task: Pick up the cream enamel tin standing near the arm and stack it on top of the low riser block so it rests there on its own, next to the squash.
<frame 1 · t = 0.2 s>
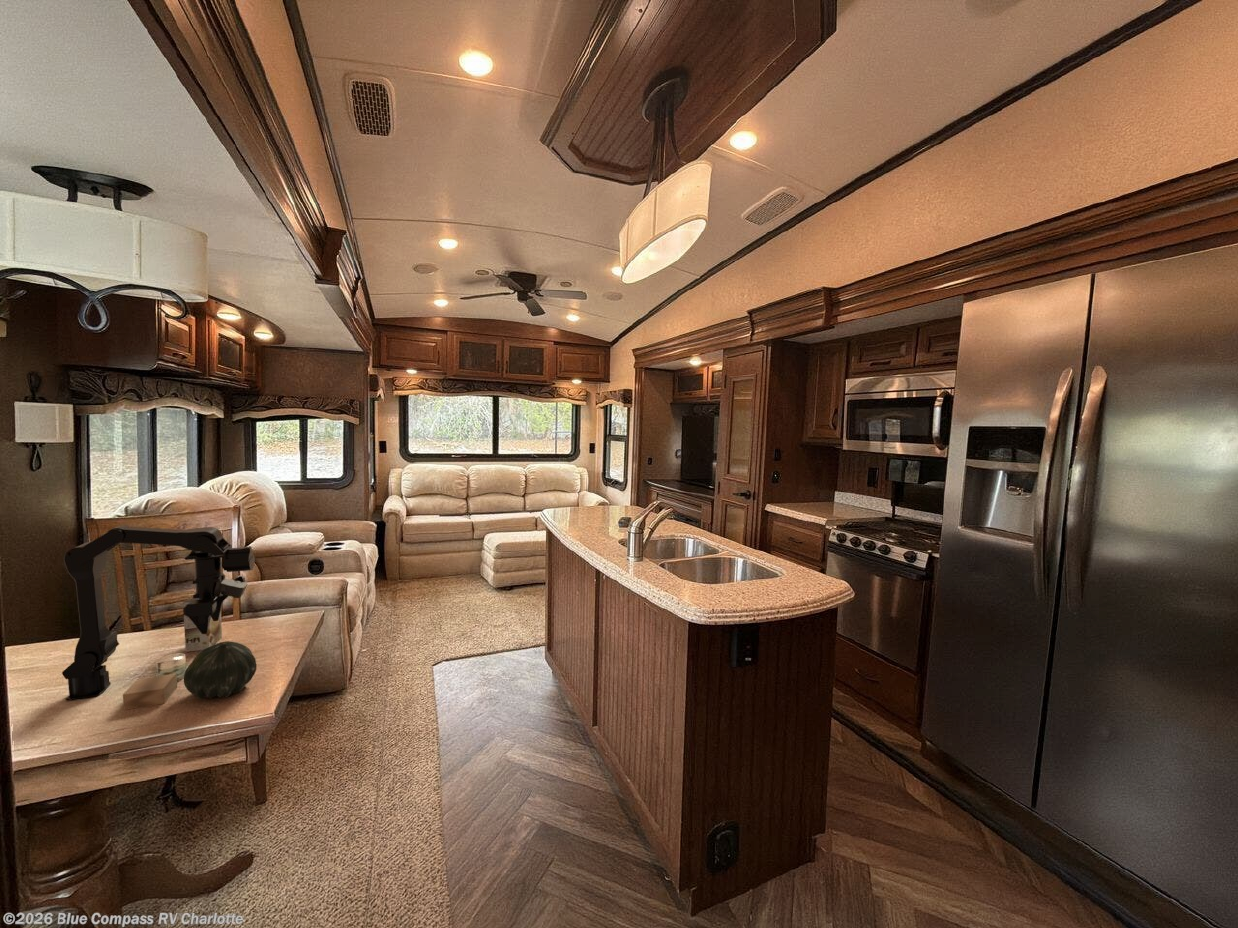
hand: (210, 627, 142), 14 cm above the table, fingers open, 9 cm apart
riser: (151, 698, 131), on the table
squash: (223, 691, 135), on the table
coffee box: (204, 645, 161), on the table
tin: (172, 678, 140), on the table
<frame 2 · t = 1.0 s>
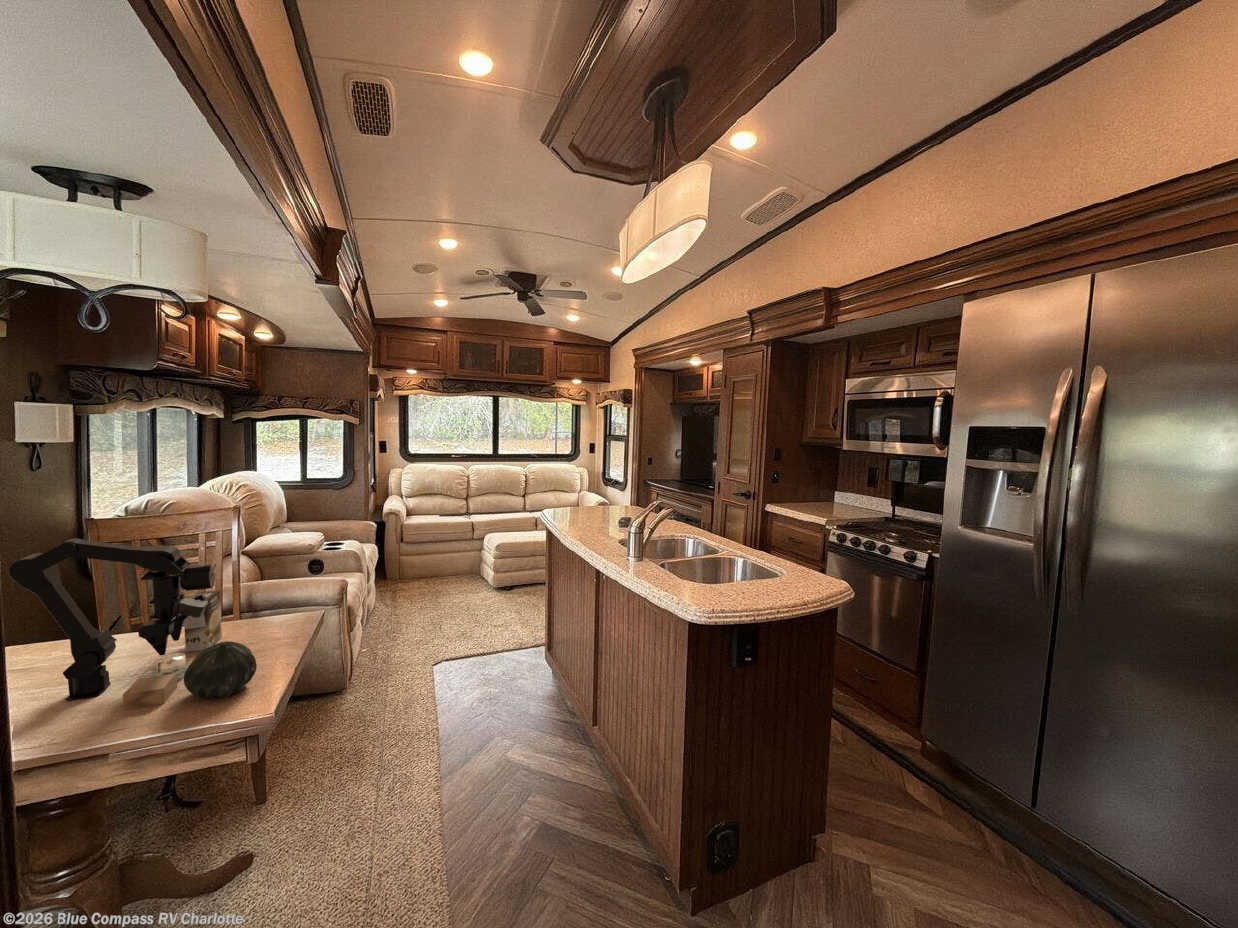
hand: (169, 647, 140), 9 cm above the table, fingers open, 9 cm apart
nothing on the table moved.
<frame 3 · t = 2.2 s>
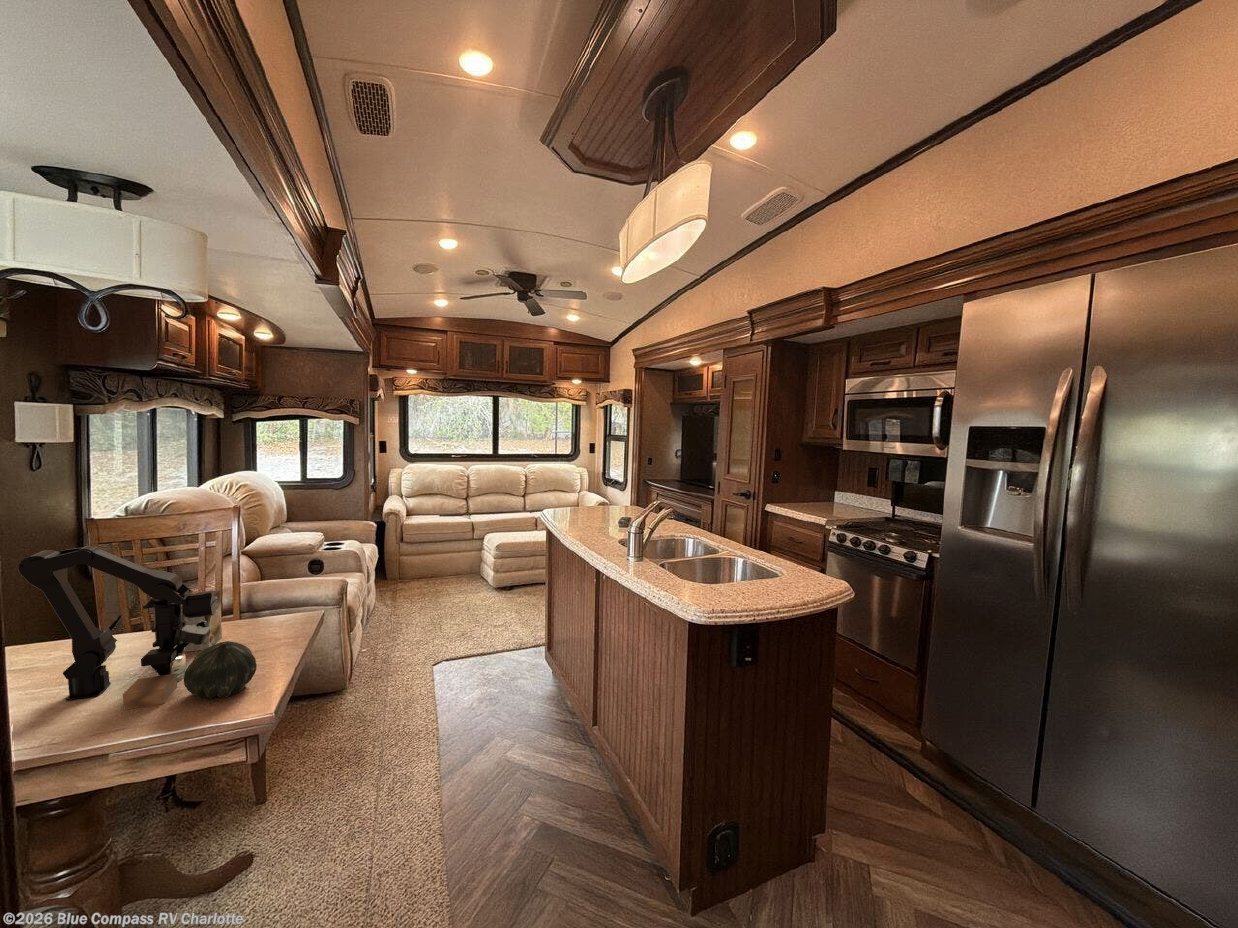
hand: (172, 674, 140), 1 cm above the table, fingers closed on tin, 6 cm apart
tin: (172, 678, 140), on the table, touching gripper
everything else where it was.
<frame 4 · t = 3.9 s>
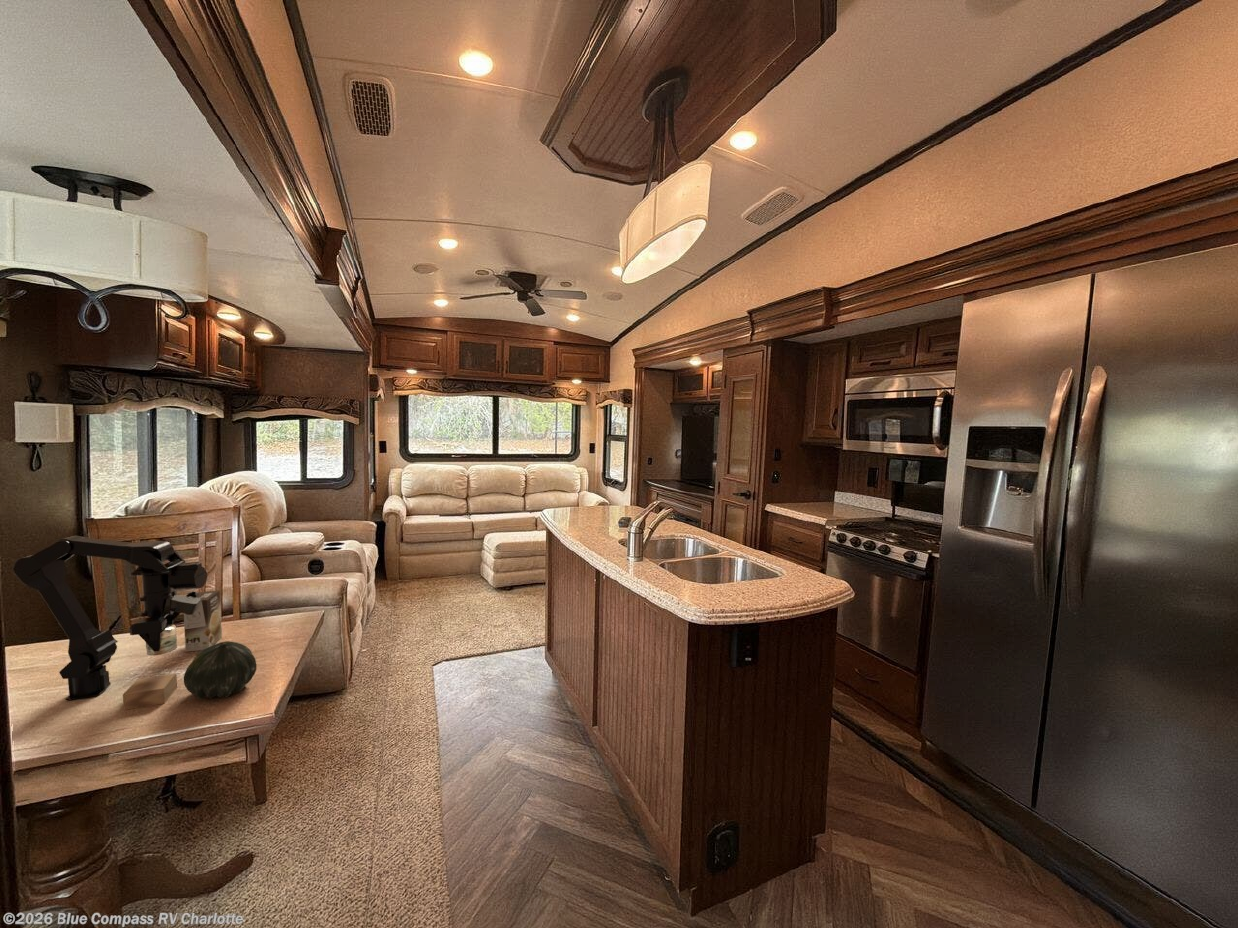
hand: (161, 645, 135), 11 cm above the table, fingers closed on tin, 6 cm apart
tin: (162, 650, 136), point 10 cm above the table, touching gripper
everything else where it was.
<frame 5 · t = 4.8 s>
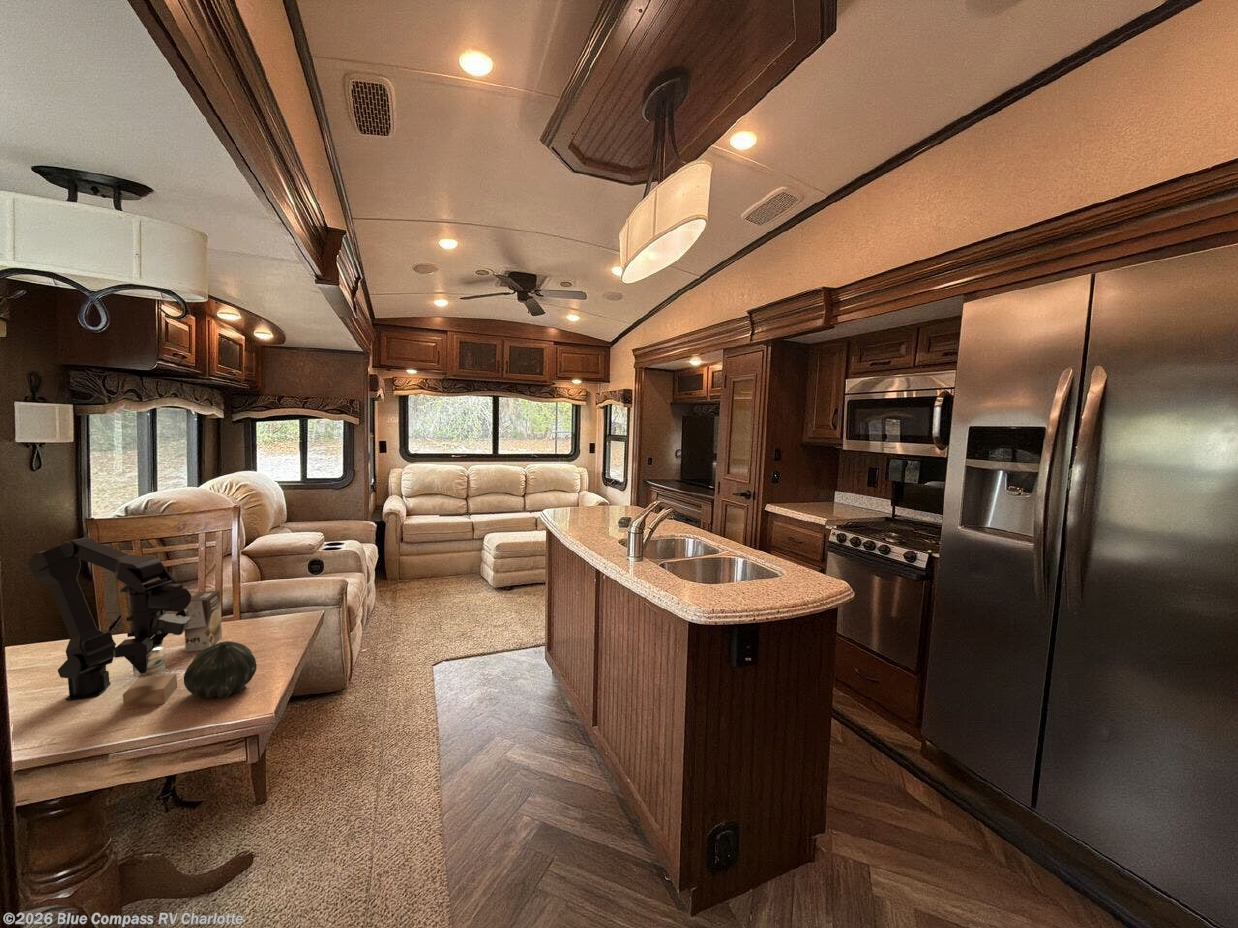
hand: (149, 666, 130), 9 cm above the table, fingers closed on tin, 6 cm apart
tin: (149, 671, 130), point 7 cm above the table, touching gripper
everything else where it was.
when the fingers open (6 cm above the table, at t = 5.6 s): tin drops 1 cm, resting on riser.
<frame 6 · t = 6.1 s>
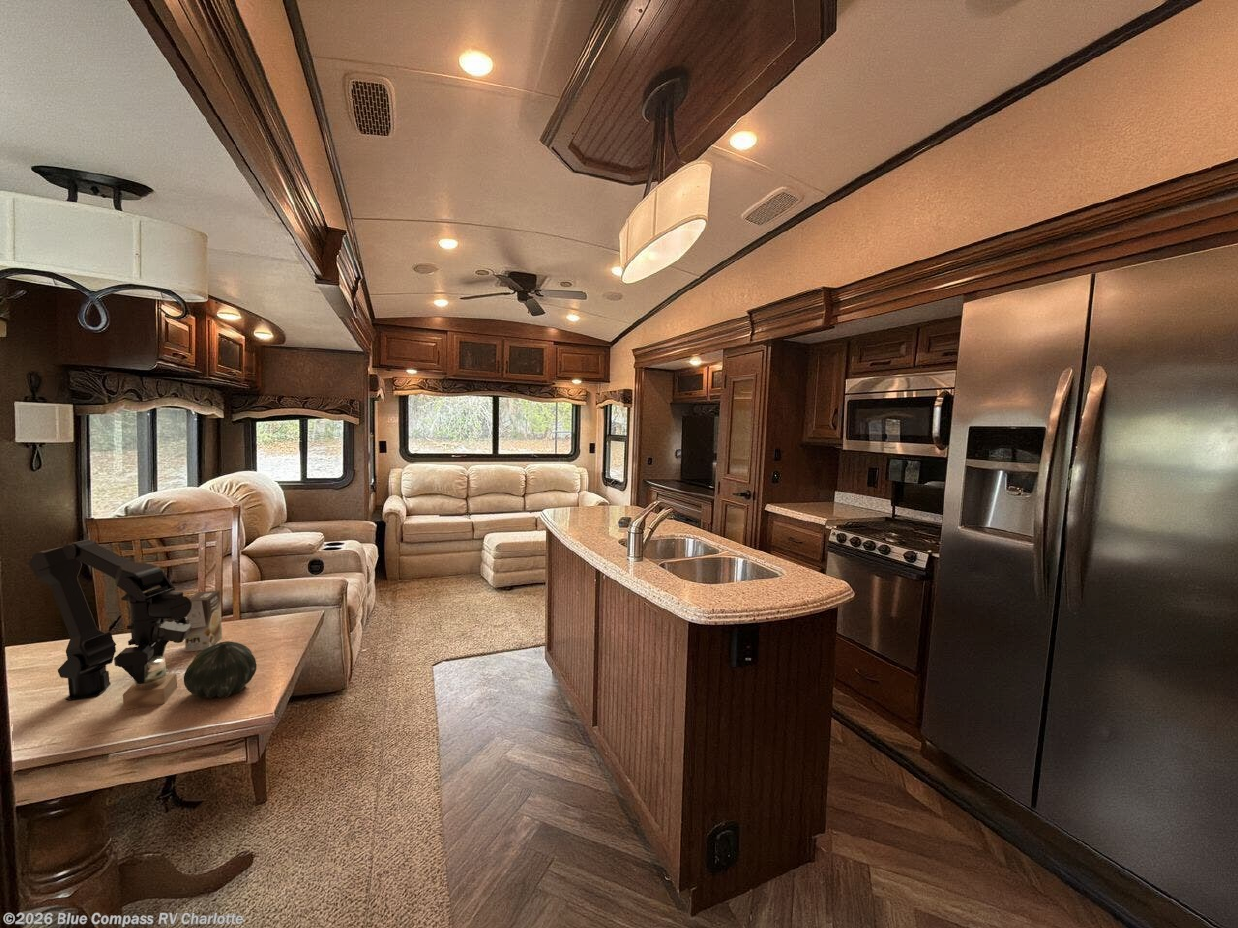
hand: (149, 674, 130), 6 cm above the table, fingers open, 9 cm apart
tin: (150, 683, 131), point 4 cm above the table, touching riser
everything else where it was.
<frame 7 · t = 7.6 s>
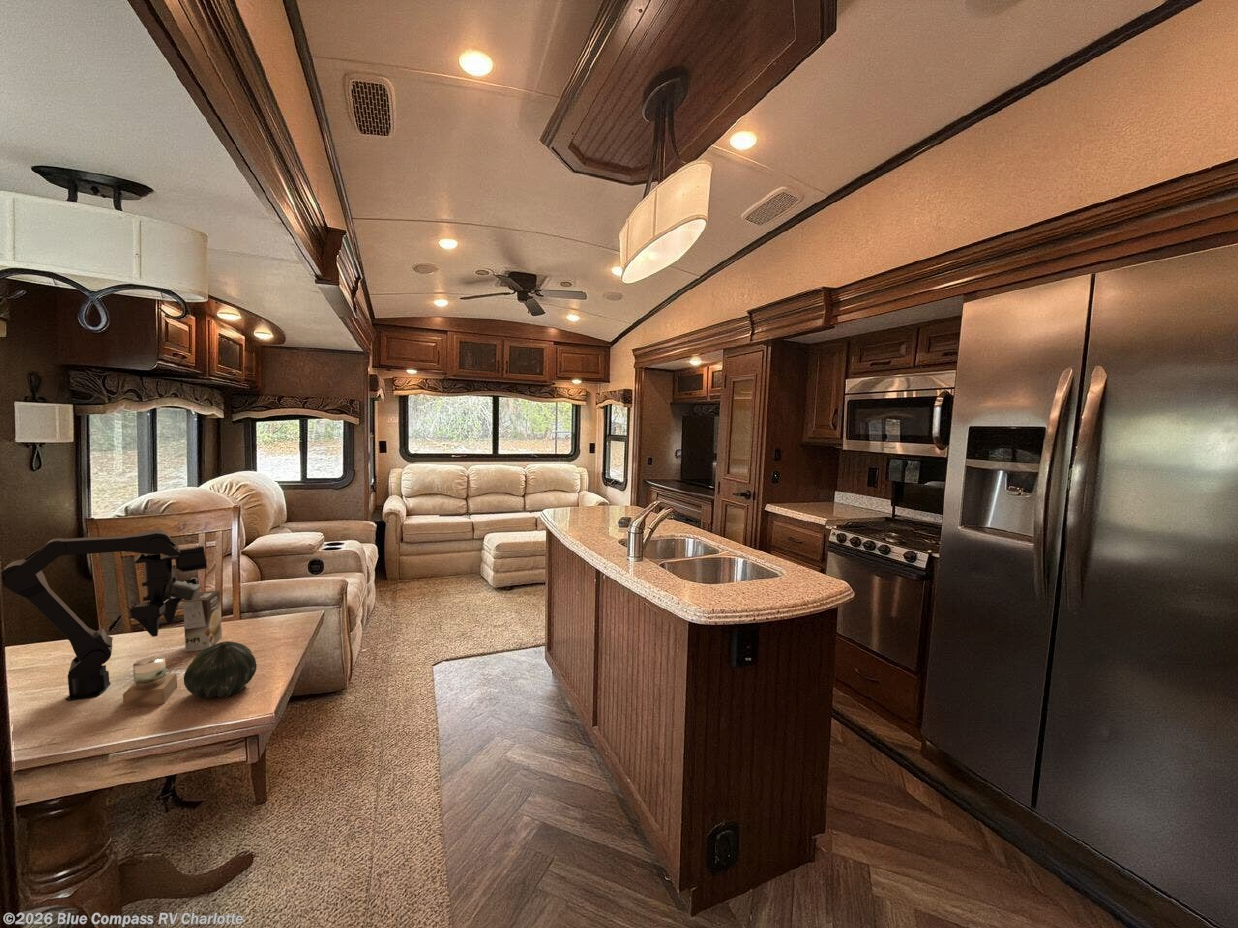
hand: (162, 629, 142), 13 cm above the table, fingers open, 9 cm apart
nothing on the table moved.
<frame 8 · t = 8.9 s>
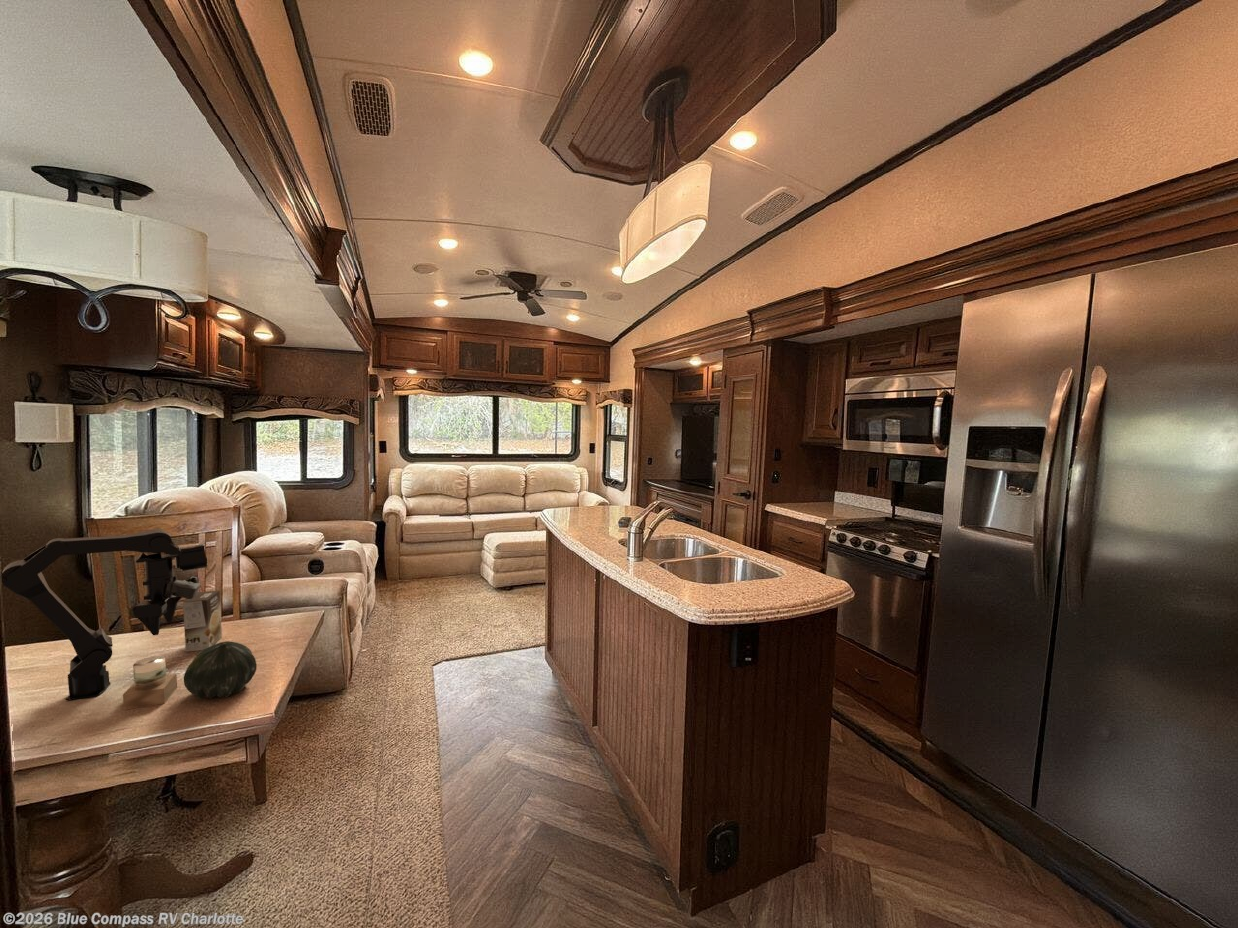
hand: (163, 628, 143), 13 cm above the table, fingers open, 9 cm apart
nothing on the table moved.
at the end: tin 0.0 cm off-centre on the riser, point 4.0 cm above the riser's base; tin tilted 0°; tin touching riser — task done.
